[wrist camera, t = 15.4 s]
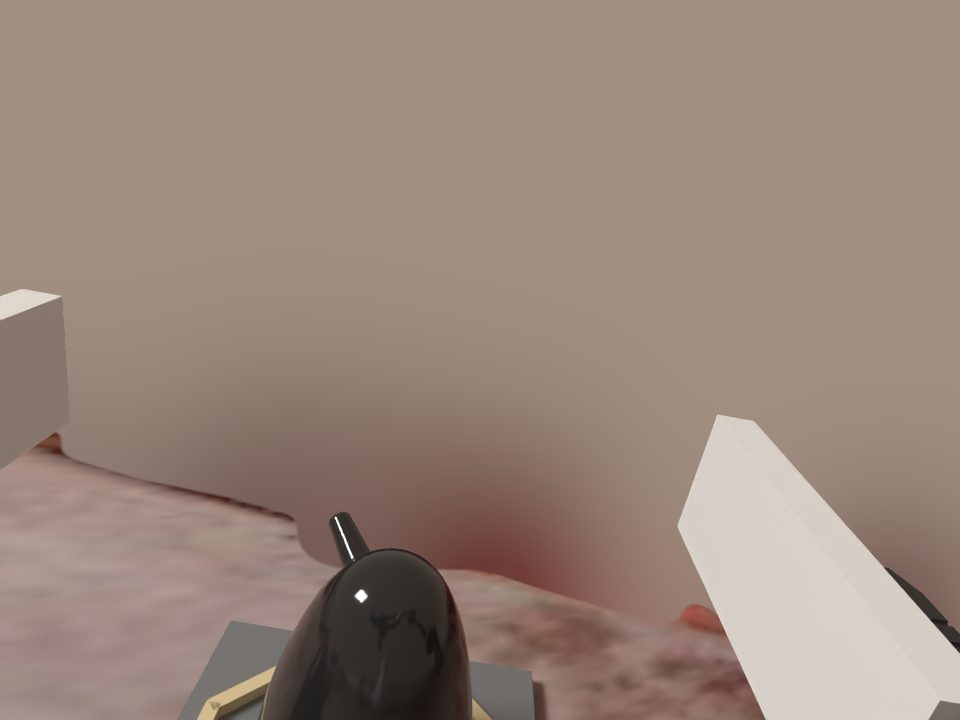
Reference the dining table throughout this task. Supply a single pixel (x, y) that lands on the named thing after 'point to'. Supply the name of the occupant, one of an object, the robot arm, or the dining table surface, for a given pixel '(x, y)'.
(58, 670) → the dining table surface
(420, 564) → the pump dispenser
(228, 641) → the dock plate
